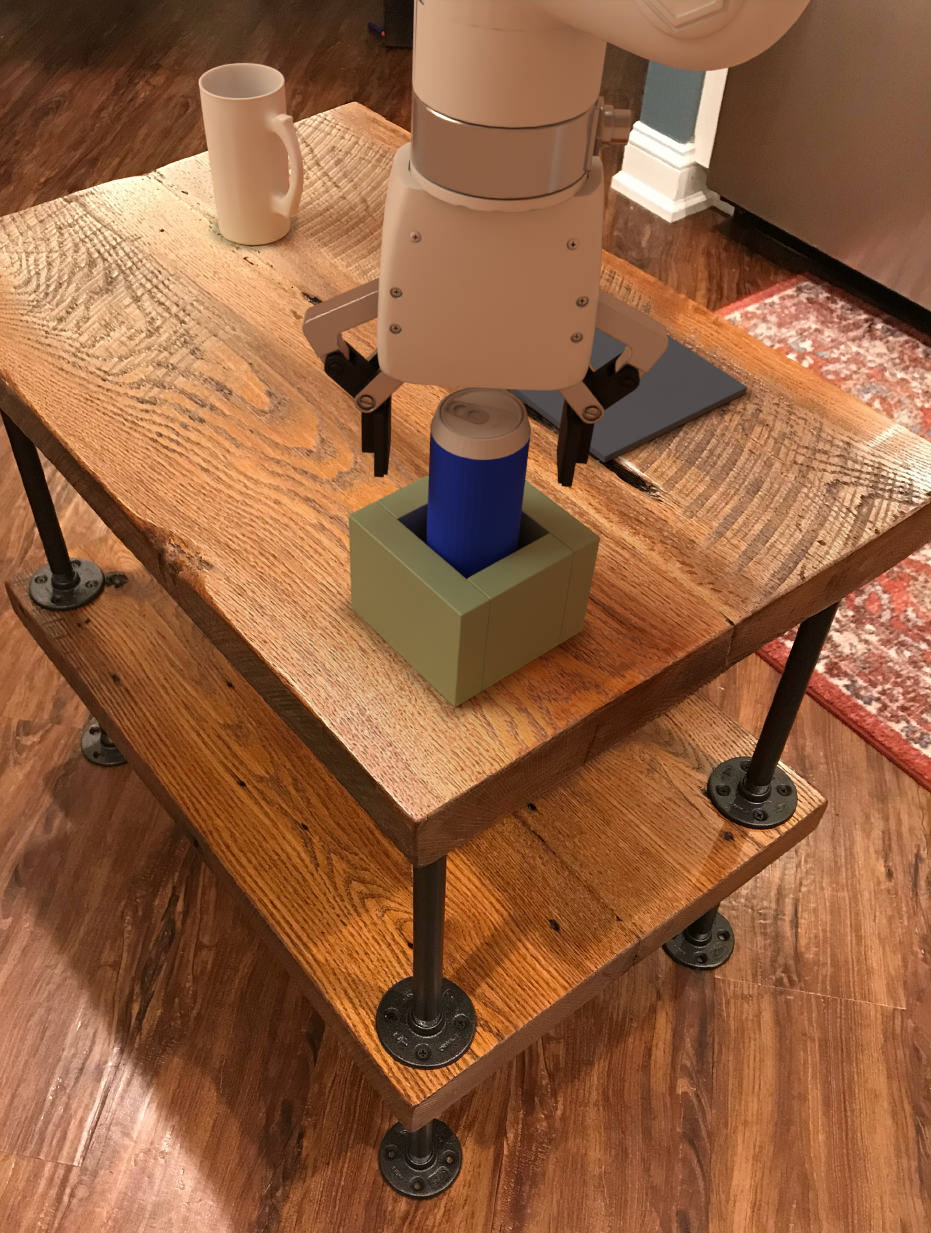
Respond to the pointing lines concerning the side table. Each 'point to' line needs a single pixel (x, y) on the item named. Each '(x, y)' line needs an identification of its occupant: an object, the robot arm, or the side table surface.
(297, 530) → the side table surface
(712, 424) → the side table surface
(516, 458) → the beverage can
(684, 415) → the mat
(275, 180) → the mug
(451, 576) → the can holder
